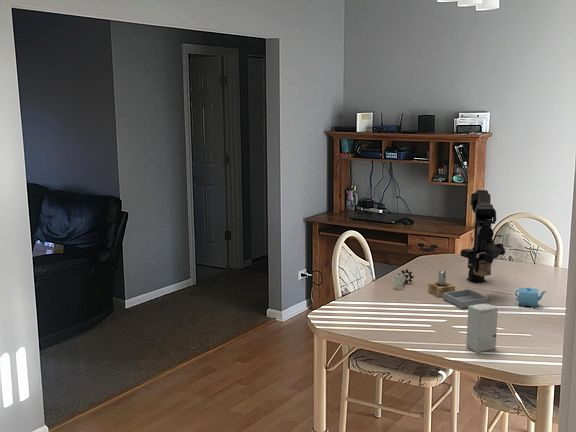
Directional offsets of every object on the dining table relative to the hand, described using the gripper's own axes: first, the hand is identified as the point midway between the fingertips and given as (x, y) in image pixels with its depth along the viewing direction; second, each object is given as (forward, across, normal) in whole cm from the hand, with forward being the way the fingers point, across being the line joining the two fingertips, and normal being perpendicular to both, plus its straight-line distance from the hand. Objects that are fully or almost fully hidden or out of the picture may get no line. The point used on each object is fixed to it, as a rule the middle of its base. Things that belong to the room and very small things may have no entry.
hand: (481, 271), depth 267 cm
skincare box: (+12, -35, -44) cm, 57 cm away
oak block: (+11, -12, +11) cm, 20 cm away
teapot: (+12, +12, -16) cm, 23 cm away
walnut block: (+1, 0, 0) cm, 1 cm away
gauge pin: (+11, -12, +11) cm, 20 cm away
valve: (+12, -22, +27) cm, 37 cm away
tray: (+11, -10, -3) cm, 15 cm away
